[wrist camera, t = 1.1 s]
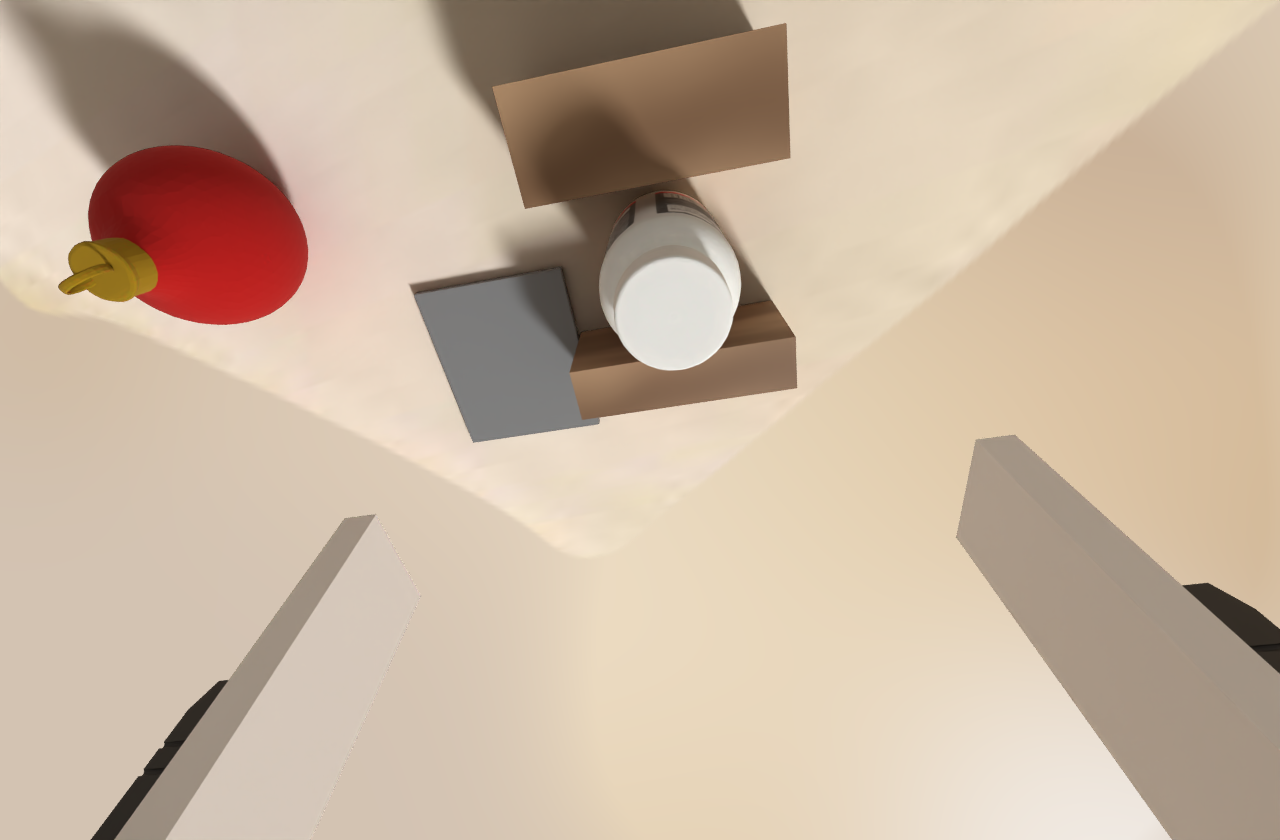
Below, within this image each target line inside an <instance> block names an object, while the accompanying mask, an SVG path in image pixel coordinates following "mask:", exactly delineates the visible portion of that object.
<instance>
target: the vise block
mask: <svg viewBox="0 0 1280 840" xmlns="http://www.w3.org/2000/svg"><path fill="white" fill-rule="evenodd" d="M492 89H493V92H494V96H495V100H496V103H497V107H498V111H499V115H500V118H501V122H502V126H503V129H504V133H505V137H506V140H507V144H508V148H509V151H510V155H511V159H512V163H513V166H514V170H515V174H516V177H517V181H518V185H519V188H520V192H521V196H522V200H523V203H524V207H525V209H527V208H532V207H537V206H542V205H548V204H553V203H558V202H563V201H568V200H574V199H579V198H584V197H589V196H595V195H600V194H605V193H610V192H615V191H621V190H626V189H631V188H636V187H642V186H647V185H652V184H657V183H663V182H668V181H673V180H678V179H683V178H689V177H694V176H699V175H704V174H710V173H715V172H720V171H725V170H731V169H736V168H741V167H746V166H751V165H757V164H762V163H767V162H772V161H778V160H783V159H788V158H790V130H789V96H788V62H787V28H786V23H784V24H780V25H775V26H771V27H766V28H761V29H757V30H752V31H747V32H743V33H738V34H734V35H729V36H724V37H720V38H715V39H710V40H706V41H701V42H697V43H692V44H687V45H683V46H678V47H674V48H669V49H664V50H660V51H655V52H650V53H646V54H641V55H637V56H632V57H627V58H623V59H618V60H613V61H609V62H604V63H600V64H595V65H590V66H586V67H581V68H576V69H572V70H567V71H563V72H558V73H553V74H549V75H544V76H539V77H535V78H530V79H526V80H521V81H516V82H512V83H507V84H502V85H498V86H493V87H492ZM569 373H570V377H571V381H572V384H573V388H574V392H575V396H576V399H577V403H578V407H579V410H580V414H581V418H582V420H586V419H592V418H599V417H606V416H612V415H619V414H626V413H633V412H639V411H646V410H653V409H660V408H666V407H673V406H680V405H686V404H693V403H700V402H707V401H713V400H720V399H727V398H733V397H740V396H747V395H754V394H760V393H767V392H774V391H781V390H787V389H794V388H797V370H796V337H795V335H794V334H793V332H792V331H791V329H790V328H789V326H788V325H787V323H786V321H785V320H784V318H783V317H782V315H781V314H780V312H779V311H778V309H777V308H776V306H775V305H774V303H773V302H772V300H771V301H765V302H759V303H753V304H747V305H741V306H737V309H736V311H735V314H734V316H733V322H732V325H731V328H730V331H729V334H728V336H727V338H726V340H725V341H724V343H723V344H722V346H721V347H720V348H719V349H718V351H717V352H716V353H715V354H713V355H712V356H711V357H710V358H709V359H707V360H706V361H704V362H703V363H701V364H699V365H696V366H693V367H691V368H687V369H683V370H661V369H657V368H654V367H651V366H648V365H646V364H644V363H642V362H641V361H639V360H638V359H636V358H635V357H634V356H632V355H631V354H630V353H629V351H628V350H627V349H626V348H625V346H624V345H623V344H622V342H621V340H620V338H619V336H618V334H617V333H616V332H615V331H614V330H613V328H612V327H608V328H602V329H596V330H590V331H584V332H581V335H580V338H579V341H578V345H577V348H576V352H575V355H574V358H573V362H572V365H571V369H570V372H569Z"/></svg>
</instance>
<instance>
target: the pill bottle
mask: <svg viewBox="0 0 1280 840" xmlns="http://www.w3.org/2000/svg"><path fill="white" fill-rule="evenodd" d="M740 292H741V275H740V269H739V264H738V261H737V258H736V255H735V252H734V250H733V248H732V247H731V245H730V244H729V242H728V241H727V239H726V238H725V236H724V235H723V233H722V232H721V230H720V228H719V227H718V225H717V224H716V222H715V220H714V218H713V217H712V215H711V214H710V213H709V212H708V211H707V209H706V208H705V207H704V206H703V205H702V204H701V203H700V202H698V201H697V200H696V199H694V198H692V197H690V196H688V195H686V194H683V193H680V192H676V191H668V190H665V191H656V192H651V193H648V194H646V195H643V196H641V197H639V198H637V199H636V200H634V201H633V202H631V203H630V204H629V205H628V206H627V207H626V208H625V209H624V210H623V211H622V212H621V214H620V215H619V217H618V218H617V220H616V222H615V224H614V226H613V229H612V231H611V235H610V238H609V242H608V245H607V249H606V254H605V257H604V261H603V263H602V266H601V271H600V278H599V295H600V301H601V306H602V309H603V312H604V314H605V317H606V319H607V321H608V322H609V324H610V326H611V327H612V328H613V330H614V331H615V332H616V333H617V334H618V336H619V338H620V340H621V342H622V344H623V345H624V346H625V348H626V349H627V350H628V351H629V353H630V354H631V355H632V356H634V357H635V358H636V359H638V360H639V361H641V362H642V363H644V364H646V365H648V366H651V367H654V368H657V369H661V370H683V369H687V368H691V367H693V366H696V365H699V364H701V363H703V362H704V361H706V360H707V359H709V358H710V357H711V356H712V355H713V354H715V353H716V352H717V351H718V349H719V348H720V347H721V346H722V344H723V343H724V341H725V340H726V338H727V336H728V334H729V331H730V328H731V325H732V322H733V316H734V314H735V311H736V309H737V306H738V302H739V298H740Z"/></svg>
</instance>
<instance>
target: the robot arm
mask: <svg viewBox="0 0 1280 840" xmlns="http://www.w3.org/2000/svg"><path fill="white" fill-rule="evenodd" d="M956 538H957V539H958V540H959V542H960V543H961V545H962V546H963V547H964V549H965V550H966V552H967V553H968V554H969V556H970V557H971V559H972V560H973V561H974V563H975V564H976V566H977V567H978V568H979V570H980V571H981V573H982V574H983V575H984V577H985V578H986V579H987V581H988V582H989V584H990V585H991V587H992V588H993V589H994V591H995V592H996V594H997V595H998V596H999V598H1000V599H1001V601H1002V602H1003V603H1004V605H1005V606H1006V608H1007V609H1008V610H1009V612H1010V613H1011V614H1012V616H1013V617H1014V619H1015V620H1016V622H1017V623H1018V624H1019V626H1020V627H1021V629H1022V630H1023V631H1024V633H1025V634H1026V636H1027V637H1028V638H1029V640H1030V641H1031V643H1032V644H1033V645H1034V647H1035V648H1036V650H1037V651H1038V653H1039V654H1040V655H1041V657H1042V658H1043V660H1044V661H1045V662H1046V664H1047V665H1048V667H1049V668H1050V669H1051V671H1052V672H1053V674H1054V675H1055V676H1056V678H1057V679H1058V681H1059V682H1060V683H1061V684H1062V686H1063V688H1064V689H1065V690H1066V691H1067V693H1068V694H1069V696H1070V697H1071V699H1072V700H1073V701H1074V703H1075V704H1076V706H1077V707H1078V708H1079V710H1080V711H1081V713H1082V714H1083V715H1084V717H1085V718H1086V720H1087V721H1088V722H1089V724H1090V725H1091V727H1092V728H1093V730H1094V731H1095V732H1096V734H1097V735H1098V737H1099V738H1100V739H1101V741H1102V742H1103V744H1104V745H1105V746H1106V748H1107V749H1108V750H1109V752H1110V753H1111V755H1112V756H1113V757H1114V759H1115V760H1116V762H1117V763H1118V764H1119V766H1120V767H1121V769H1122V770H1123V772H1124V773H1125V774H1126V776H1127V777H1128V779H1129V780H1130V781H1131V783H1132V784H1133V786H1134V787H1135V788H1136V790H1137V791H1138V793H1139V794H1140V795H1141V797H1142V798H1143V800H1144V801H1145V802H1146V804H1147V805H1148V807H1149V808H1150V809H1151V811H1152V812H1153V814H1154V815H1155V816H1156V818H1157V819H1158V821H1159V822H1160V823H1161V825H1162V826H1163V828H1164V829H1165V830H1166V832H1167V833H1168V835H1169V836H1170V837H1171V839H1172V840H1280V629H1279V628H1278V627H1276V626H1275V625H1274V624H1273V623H1272V622H1270V621H1269V620H1268V619H1267V618H1266V617H1264V616H1263V615H1262V614H1261V613H1260V612H1258V611H1257V610H1256V609H1254V608H1253V607H1251V606H1249V605H1247V604H1245V603H1243V602H1242V601H1240V600H1238V599H1236V598H1235V597H1233V596H1231V595H1229V594H1227V593H1225V592H1224V591H1222V590H1220V589H1218V588H1216V587H1214V586H1213V585H1211V584H1209V583H1203V584H1192V585H1181V584H1180V583H1179V582H1177V581H1176V580H1175V579H1174V578H1173V577H1172V576H1171V575H1170V574H1169V573H1167V572H1166V571H1165V570H1164V569H1163V568H1162V567H1161V566H1160V565H1159V564H1157V563H1156V562H1155V561H1154V560H1153V559H1152V558H1151V557H1150V556H1149V555H1148V554H1146V553H1145V552H1144V551H1143V550H1142V549H1141V548H1140V547H1139V546H1137V545H1136V544H1135V543H1134V542H1133V541H1132V540H1131V539H1130V538H1129V537H1128V536H1126V535H1125V534H1124V533H1123V532H1122V531H1121V530H1120V529H1119V528H1117V527H1116V526H1115V525H1114V524H1113V523H1112V522H1111V521H1110V520H1109V519H1108V518H1107V517H1105V516H1104V515H1103V514H1102V513H1101V512H1100V511H1099V510H1097V508H1095V507H1094V506H1093V505H1092V504H1091V503H1090V502H1089V501H1088V500H1087V499H1085V498H1084V497H1083V496H1082V495H1081V494H1080V493H1079V492H1078V491H1077V490H1075V489H1074V488H1073V487H1072V486H1071V485H1070V484H1069V483H1068V482H1067V481H1066V480H1064V479H1063V478H1062V477H1061V476H1060V475H1059V474H1058V473H1057V472H1056V471H1054V470H1053V469H1052V468H1051V467H1050V466H1049V465H1048V464H1047V463H1046V462H1044V461H1043V460H1042V459H1041V458H1040V457H1039V456H1038V455H1037V454H1035V452H1033V451H1032V450H1031V449H1030V448H1029V447H1028V446H1027V445H1026V444H1024V443H1023V442H1022V441H1021V440H1020V439H1019V438H1018V437H1017V436H1016V435H1009V436H1001V437H993V438H986V439H978V440H976V442H975V447H974V452H973V456H972V461H971V467H970V471H969V476H968V481H967V486H966V491H965V496H964V501H963V506H962V511H961V516H960V521H959V526H958V531H957V536H956ZM420 597H421V595H420V593H419V591H418V589H417V587H416V585H415V584H414V582H413V580H412V578H411V576H410V575H409V573H408V571H407V569H406V567H405V566H404V564H403V562H402V560H401V558H400V557H399V555H398V553H397V551H396V549H395V548H394V546H393V544H392V542H391V540H390V538H389V537H388V535H387V533H386V531H385V529H384V528H383V526H382V524H381V522H380V520H379V519H378V517H377V515H376V514H375V515H367V516H359V517H351V518H345V519H344V520H343V521H342V523H341V524H340V526H339V527H338V529H337V530H336V531H335V533H334V534H333V535H332V537H331V538H330V540H329V541H328V542H327V544H326V545H325V547H324V548H323V549H322V551H321V552H320V553H319V555H318V556H317V558H316V559H315V560H314V562H313V563H312V565H311V566H310V568H309V569H308V570H307V572H306V573H305V574H304V576H303V577H302V579H301V580H300V581H299V583H298V584H297V586H296V587H295V588H294V590H293V591H292V593H291V594H290V595H289V597H288V598H287V600H286V601H285V602H284V604H283V605H282V606H281V608H280V610H279V611H278V612H277V614H276V615H275V616H274V618H273V619H272V621H271V622H270V623H269V625H268V626H267V627H266V629H265V630H264V632H263V633H262V635H261V636H260V637H259V639H258V640H257V641H256V643H255V644H254V646H253V647H252V648H251V650H250V651H249V653H248V654H247V655H246V657H245V658H244V659H243V661H242V663H241V664H240V665H239V667H238V668H237V669H236V671H235V672H234V674H233V675H232V676H231V678H230V679H229V680H224V681H219V682H218V683H217V684H215V686H213V687H212V688H211V689H210V690H209V691H208V692H207V693H206V694H205V695H204V696H203V697H202V698H200V699H199V700H198V701H197V702H196V703H195V704H194V705H193V706H192V707H191V708H190V709H189V710H188V711H187V712H186V713H185V715H184V716H183V717H182V719H181V720H180V722H179V723H178V724H177V726H176V727H175V728H174V729H173V731H172V732H171V734H170V735H169V736H168V738H167V739H166V740H165V741H164V743H165V745H164V747H163V748H162V749H158V751H157V752H156V754H155V755H154V756H153V757H152V759H151V760H150V761H149V763H148V764H147V766H146V767H145V768H144V774H143V775H142V776H139V777H138V778H137V779H136V780H135V782H134V783H133V784H132V786H131V787H130V788H129V790H128V791H127V792H126V794H125V795H124V796H123V798H122V799H121V800H120V802H119V803H118V804H117V806H116V807H115V808H114V810H113V811H112V812H111V814H110V815H109V817H108V818H107V819H106V820H105V822H104V823H103V824H102V826H101V827H100V828H99V830H98V831H97V832H96V834H95V835H94V836H93V838H92V839H91V840H311V839H312V837H313V835H314V832H315V830H316V828H317V826H318V823H319V821H320V819H321V817H322V814H323V812H324V810H325V808H326V806H327V803H328V801H329V799H330V797H331V794H332V792H333V790H334V788H335V786H336V783H337V781H338V779H339V777H340V775H341V772H342V770H343V768H344V766H345V764H346V761H347V759H348V757H349V755H350V752H351V750H352V748H353V746H354V743H355V741H356V739H357V737H358V735H359V732H360V730H361V728H362V726H363V724H364V721H365V719H366V717H367V714H368V712H369V710H370V708H371V706H372V704H373V701H374V699H375V697H376V695H377V692H378V690H379V688H380V686H381V684H382V681H383V679H384V677H385V675H386V672H387V670H388V668H389V666H390V663H391V661H392V659H393V657H394V655H395V652H396V650H397V648H398V646H399V644H400V641H401V639H402V637H403V635H404V633H405V630H406V628H407V626H408V624H409V621H410V619H411V617H412V615H413V613H414V610H415V608H416V606H417V604H418V602H419V599H420Z"/></svg>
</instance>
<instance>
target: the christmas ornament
mask: <svg viewBox="0 0 1280 840" xmlns="http://www.w3.org/2000/svg"><path fill="white" fill-rule="evenodd" d="M88 220H89V229H90V234H91V239H92V241H84V242H81V243H78V244H77V245H75V246H74V247H73V248H72V249H71V251H70V253H69V256H68V261H69V266H70V268H71V270H72V272H73V274H74V275H72V276H70V277H68V278H67V279H65V280H64V281H62V282H61V283H60V284H59V286H58V288H59V289H60V290H61V291H62V292H63V293H65V294H67V295H71V294H75V293H79V292H81V291H84V290H86V289H87V290H88V291H89V292H91V293H92V294H94V295H95V296H98V297H100V298H102V299H105V300H108V301H116V302H124V301H128V300H130V299H132V298H133V297H137V298H138V299H140V300H141V301H143V302H145V303H146V304H148V305H150V306H152V307H153V308H155V309H157V310H159V311H162V312H164V313H167V314H169V315H171V316H174V317H177V318H181V319H184V320H188V321H192V322H197V323H204V324H217V325H228V324H238V323H244V322H249V321H253V320H256V319H259V318H261V317H264V316H266V315H269V314H271V313H272V312H274V311H276V310H277V309H279V308H280V307H282V306H283V305H284V304H285V303H286V302H287V301H288V300H289V299H290V298H291V297H292V296H293V295H294V294H295V292H296V291H297V290H298V288H299V286H300V285H301V283H302V280H303V278H304V275H305V272H306V269H307V262H308V245H307V238H306V235H305V231H304V228H303V225H302V223H301V221H300V218H299V216H298V215H297V213H296V211H295V209H294V208H293V206H292V205H291V203H290V202H289V200H288V199H287V198H286V197H285V196H284V194H283V193H282V192H281V191H280V190H279V189H278V188H277V187H276V186H275V185H274V184H273V183H272V182H271V181H269V180H268V179H267V178H266V177H265V176H263V175H262V174H260V173H259V172H258V171H256V170H255V169H253V168H251V167H250V166H248V165H246V164H244V163H242V162H240V161H238V160H236V159H234V158H232V157H230V156H227V155H224V154H222V153H219V152H215V151H212V150H208V149H204V148H198V147H192V146H180V145H175V146H159V147H153V148H148V149H144V150H141V151H138V152H135V153H133V154H130V155H128V156H126V157H124V158H123V159H121V160H119V161H118V162H117V163H115V164H114V165H113V166H111V167H110V168H109V169H108V170H107V171H106V172H105V173H104V174H103V175H102V177H101V178H100V180H99V181H98V182H97V184H96V187H95V189H94V191H93V193H92V196H91V199H90V204H89V211H88Z"/></svg>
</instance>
